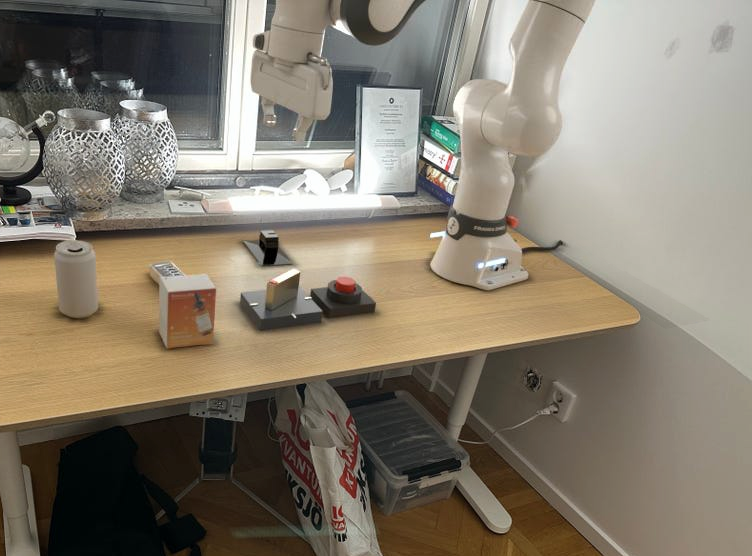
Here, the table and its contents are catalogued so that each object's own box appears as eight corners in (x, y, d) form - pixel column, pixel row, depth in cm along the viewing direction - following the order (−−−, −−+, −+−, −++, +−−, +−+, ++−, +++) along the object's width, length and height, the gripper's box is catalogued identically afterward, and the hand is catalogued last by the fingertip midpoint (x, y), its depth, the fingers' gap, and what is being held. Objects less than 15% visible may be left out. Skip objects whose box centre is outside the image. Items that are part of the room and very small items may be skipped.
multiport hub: (173, 300, 120) (174, 288, 119) (149, 274, 127) (148, 264, 126) (195, 295, 123) (196, 284, 121) (170, 271, 130) (170, 260, 128)
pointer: (290, 292, 123) (293, 267, 120) (297, 295, 122) (300, 270, 119) (264, 307, 117) (267, 280, 114) (271, 310, 116) (274, 284, 113)
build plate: (293, 265, 139) (295, 245, 136) (260, 267, 136) (262, 247, 134) (272, 241, 148) (274, 221, 146) (242, 242, 145) (243, 222, 143)
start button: (348, 283, 126) (349, 275, 125) (357, 292, 124) (359, 284, 123) (331, 285, 125) (333, 277, 124) (340, 294, 122) (342, 285, 121)
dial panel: (296, 294, 128) (297, 282, 126) (324, 326, 119) (326, 313, 117) (237, 301, 123) (238, 288, 121) (262, 334, 114) (263, 321, 112)
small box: (166, 349, 106) (166, 292, 100) (158, 332, 110) (158, 275, 105) (214, 344, 109) (217, 287, 104) (204, 327, 113) (207, 272, 108)
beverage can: (63, 322, 109) (57, 256, 103) (56, 304, 114) (50, 240, 107) (102, 317, 112) (98, 252, 106) (93, 300, 117) (90, 237, 110)
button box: (354, 293, 131) (357, 275, 129) (374, 313, 125) (378, 294, 123) (309, 298, 127) (312, 280, 125) (328, 319, 121) (331, 300, 119)
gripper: (348, 62, 104) (332, 150, 111) (278, 37, 117) (268, 117, 124) (316, 59, 100) (302, 150, 107) (247, 34, 113) (239, 117, 121)
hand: (283, 132), depth 116 cm, fingers open, 8 cm apart
